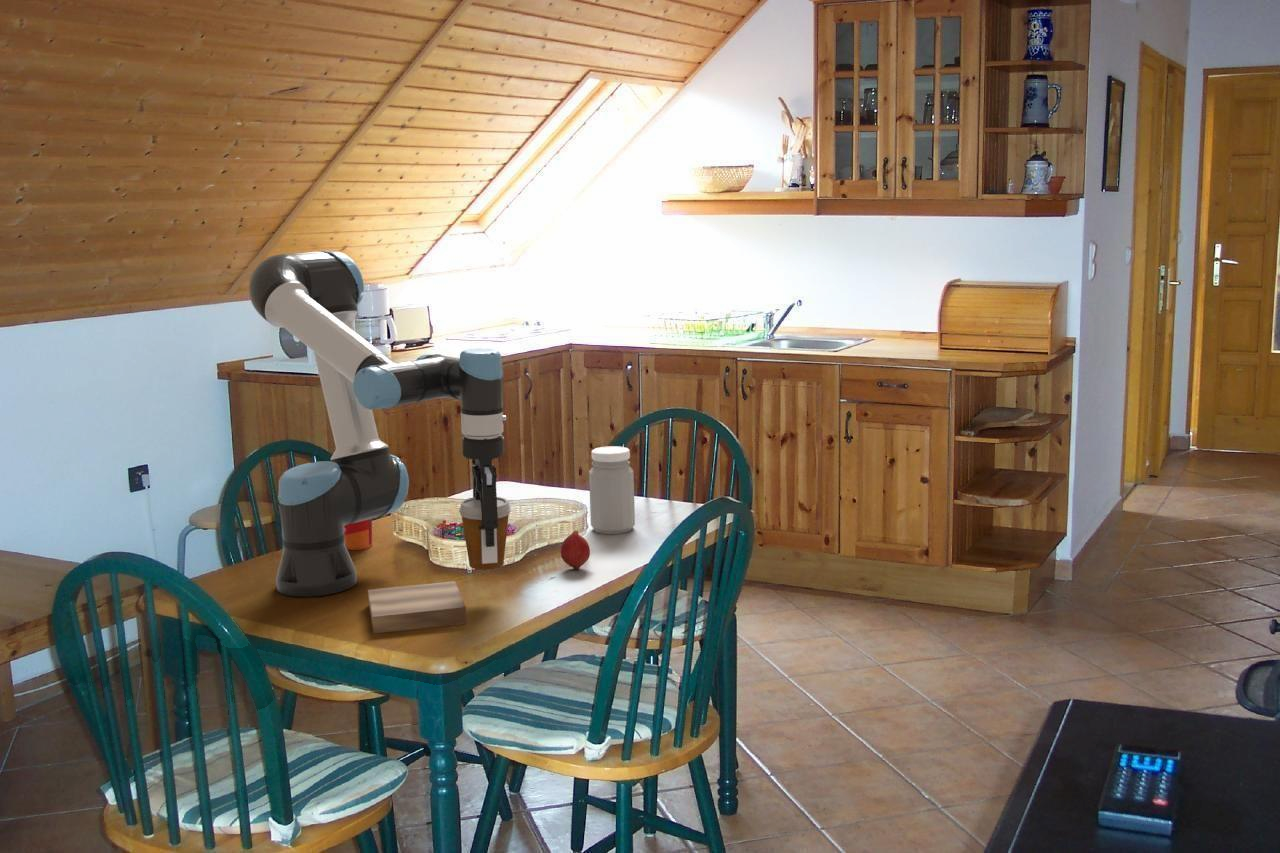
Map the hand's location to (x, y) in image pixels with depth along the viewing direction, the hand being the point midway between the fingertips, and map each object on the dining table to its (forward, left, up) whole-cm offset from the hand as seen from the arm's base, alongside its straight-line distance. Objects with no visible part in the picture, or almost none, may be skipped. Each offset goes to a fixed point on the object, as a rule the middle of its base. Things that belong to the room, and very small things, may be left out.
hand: (486, 555), depth 240 cm
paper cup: (-45, -22, -9) cm, 51 cm away
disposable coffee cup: (0, 0, -2) cm, 2 cm away
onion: (-13, +19, -9) cm, 25 cm away
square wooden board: (+5, -14, -8) cm, 17 cm away
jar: (-40, +33, -9) cm, 53 cm away
